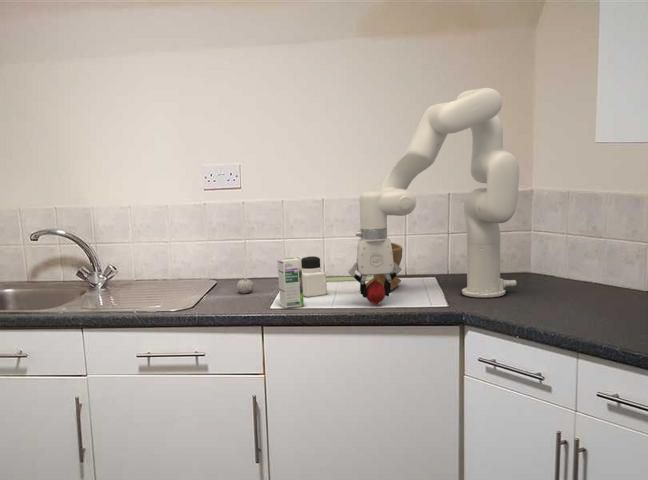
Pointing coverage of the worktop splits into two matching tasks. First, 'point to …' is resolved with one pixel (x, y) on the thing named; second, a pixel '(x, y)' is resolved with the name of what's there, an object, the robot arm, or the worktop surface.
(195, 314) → the worktop surface
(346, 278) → the edge strip
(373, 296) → the pomegranate
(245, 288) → the garlic
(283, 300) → the syrup box
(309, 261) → the medicine bottle
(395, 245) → the stone cup
